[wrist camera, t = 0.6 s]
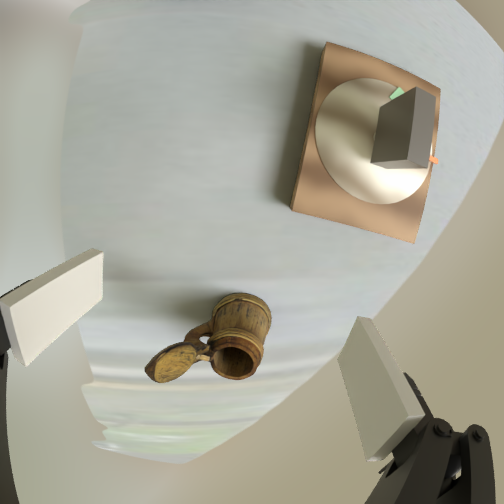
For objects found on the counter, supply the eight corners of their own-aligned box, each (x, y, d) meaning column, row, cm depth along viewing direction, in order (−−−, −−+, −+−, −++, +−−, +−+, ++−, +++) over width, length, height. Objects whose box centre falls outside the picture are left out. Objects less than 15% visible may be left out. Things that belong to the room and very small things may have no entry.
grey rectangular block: (376, 109, 28) (416, 86, 18) (438, 136, 28) (487, 129, 17) (366, 163, 30) (407, 159, 20) (430, 187, 30) (479, 195, 20)
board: (321, 53, 30) (327, 40, 26) (427, 94, 30) (441, 88, 26) (289, 207, 37) (292, 211, 32) (402, 237, 36) (415, 244, 32)
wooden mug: (195, 273, 40) (148, 339, 23) (280, 304, 41) (285, 387, 23) (181, 320, 42) (139, 395, 25) (259, 348, 43) (252, 434, 26)
